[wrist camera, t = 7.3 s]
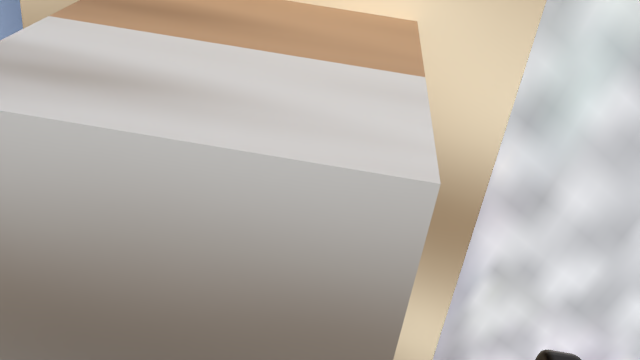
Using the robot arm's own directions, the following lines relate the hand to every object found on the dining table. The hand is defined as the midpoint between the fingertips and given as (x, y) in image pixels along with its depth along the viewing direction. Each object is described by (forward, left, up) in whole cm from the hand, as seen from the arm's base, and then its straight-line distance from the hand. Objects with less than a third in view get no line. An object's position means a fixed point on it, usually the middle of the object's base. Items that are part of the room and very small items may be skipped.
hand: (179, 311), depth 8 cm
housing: (0, 0, -5) cm, 5 cm away
